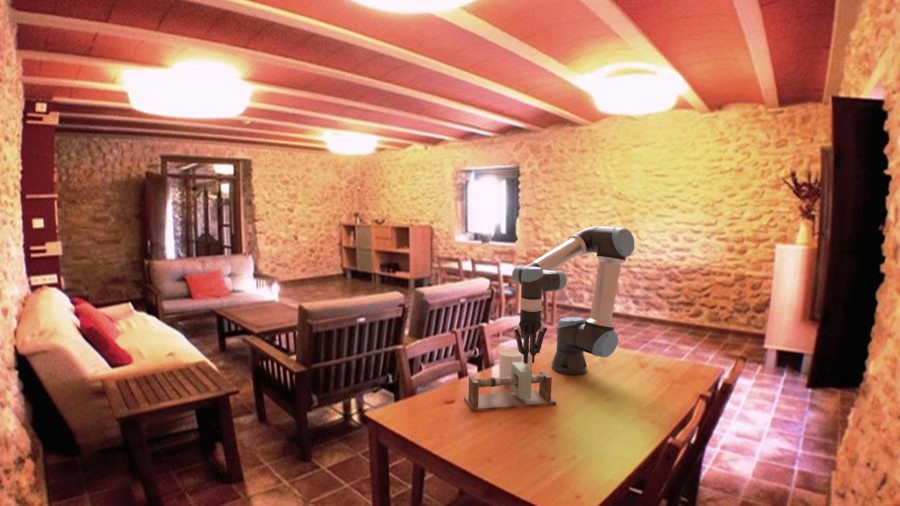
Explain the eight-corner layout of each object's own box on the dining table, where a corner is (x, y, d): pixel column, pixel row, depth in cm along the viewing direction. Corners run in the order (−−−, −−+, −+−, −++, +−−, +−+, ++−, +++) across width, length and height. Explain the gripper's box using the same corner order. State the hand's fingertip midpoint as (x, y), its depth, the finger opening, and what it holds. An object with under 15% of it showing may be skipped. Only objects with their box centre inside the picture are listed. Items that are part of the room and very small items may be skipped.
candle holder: (520, 376, 190) (521, 349, 188) (522, 385, 180) (523, 357, 179) (497, 375, 191) (498, 348, 189) (497, 384, 181) (498, 355, 180)
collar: (520, 387, 171) (521, 362, 170) (530, 398, 161) (531, 371, 160) (510, 387, 170) (511, 362, 169) (520, 399, 161) (521, 372, 160)
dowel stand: (543, 392, 174) (544, 368, 173) (556, 404, 163) (557, 379, 162) (464, 398, 167) (464, 373, 166) (471, 412, 156) (472, 385, 155)
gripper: (543, 306, 168) (540, 367, 171) (510, 307, 165) (508, 369, 168) (551, 311, 161) (548, 374, 163) (517, 312, 158) (515, 376, 160)
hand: (528, 371), depth 165 cm, fingers closed
